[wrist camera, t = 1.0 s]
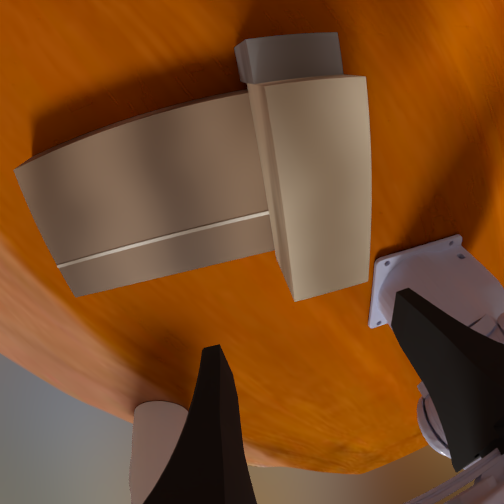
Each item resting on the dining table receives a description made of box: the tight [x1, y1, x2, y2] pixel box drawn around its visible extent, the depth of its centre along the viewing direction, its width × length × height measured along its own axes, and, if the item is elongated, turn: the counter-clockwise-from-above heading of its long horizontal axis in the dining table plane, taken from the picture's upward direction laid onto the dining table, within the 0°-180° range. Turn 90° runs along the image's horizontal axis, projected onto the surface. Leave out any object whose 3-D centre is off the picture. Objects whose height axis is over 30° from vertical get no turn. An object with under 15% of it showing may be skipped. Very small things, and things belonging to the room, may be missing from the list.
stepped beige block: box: [234, 32, 371, 302], centre depth 15 cm, size 4×12×6 cm, turn 10°
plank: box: [14, 89, 275, 297], centre depth 17 cm, size 18×9×2 cm, turn 100°
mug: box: [129, 401, 188, 504], centre depth 26 cm, size 10×7×12 cm, turn 131°
